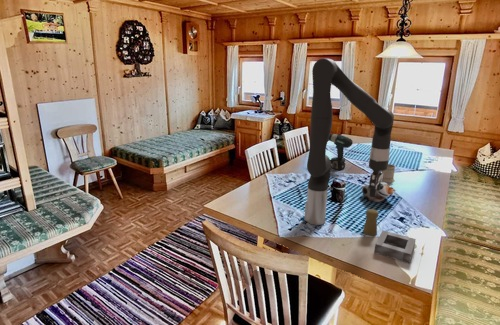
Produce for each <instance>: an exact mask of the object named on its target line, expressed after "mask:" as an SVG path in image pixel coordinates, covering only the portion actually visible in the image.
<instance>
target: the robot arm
mask: <svg viewBox="0 0 500 325" xmlns="http://www.w3.org/2000/svg"><path fill="white" fill-rule="evenodd" d="M311 72H312V74H311V75H312V101H311V112H310V113H311V114H310V131H309V132H310V133H309V151H308V156H307V162H306V168H307V169H306V170H307V172H308V173H309V175H310V176H309V179H308V182H307V196H306V201H305V203H304V218H303V219H304V221H305V222H307V223H308V224H310V225H314V226H319V225H324V224H325V223H326V216H327V205H328V204H327V200H328V188H329V183H330V178H331V170H332V168H331V161H330V160H331V158H330V157H329V156H328V155H327V154H326V150H327V144H328V141H329V140H328V139H329V136H330V134H331V131H332V127H333V113H334V112H333V104H332V103H333V102H332V99H331V97H332V96H331V89H332V85H333V86H334V87H335V88H336V89H337V90H339V91H340V92H341V94H343V95H344V97H345V98H346V100H348V101H349V102H350V103H351V104H352V105H353V106H354V107H355V108H356V109H357V110H359V112H360V113H361V112H362V113H363V114H364V115H365V117H367V119H369V121H370V122H371V123H372V124H373V125H374V132H373V136H372V139H371V140H372V142H371V147H370V152H369V160H368V168H369V169H370V170H372V172H371V174H370V179H369V184H368V185H369V188H370V197H375V195H376V190H377V191H379V190H380V185H381V183H380V182H383V181H382V179H383V171H385V170H387V169H388V164H389V159H390V153H391V152H390V147H391V140H392V139H391V137H392V131H393V126H394V125H393V124H394V120H395V115H394V113H393V112H392V111H391V110H390V109H386V108H383V107H382V106H381V105H380V104H379V103H378V101H377V100H376V98H374V97H373V96H372V95H371V94H369V93H368V92H367V91H366V90H364V89H363V88H362V87H361V86H360V85H359V84H357V83H355V81H353V80H352V79H351V78H349V76H348V75H347V74H346V73H345V72H344V71H343V70H342V68H340V66H339V65H338V64H337V63H336V61H335V60H333V59H331V58H327V57H324V58H319V59H317V60H316V61H315V63H314V64H313V66H312V71H311ZM372 184H374V186H372Z"/></svg>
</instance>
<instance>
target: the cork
mask: <svg viewBox="0 0 500 325" xmlns="http://www.w3.org/2000/svg"><path fill="white" fill-rule="evenodd" d="M365 215H366V218H365V222H364V226H363V229H362V232H363V234H364V235H366V236H369V237H370V236H371V237H375V236H377V235H378V224H377V222H378V221H377V220H378V218H379V212H378V210H376V209H371V208H369V209H367V210H366V211H365Z"/></svg>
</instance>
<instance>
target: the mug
mask: <svg viewBox="0 0 500 325" xmlns="http://www.w3.org/2000/svg"><path fill="white" fill-rule="evenodd" d="M395 169H396V166H395V165H394V164H391V163H388V169H387V170H385V171H383V179H382V182H385V183H394V182H395V181H396V180H395V178H394V177H395V176H394V175H395V171H396V170H395Z"/></svg>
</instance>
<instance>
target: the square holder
mask: <svg viewBox="0 0 500 325" xmlns="http://www.w3.org/2000/svg"><path fill="white" fill-rule="evenodd" d="M416 239H417V238H412V237H411V236H410V237H409V236H405V235H402V234H399V233H394V232H390V231H386V230H383V229H382V231H381V232H380V234H379V236H378V239H377V241H376V242H375V244H374V245H375V246H374V251H373V252H374V253H375V254H377V255H381V256H384V257H388V258H391V259H394V260H397V261H401V262H404V263H408V264H410V263H411V259H412V256H413V253H414V250H415V245H416Z"/></svg>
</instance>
